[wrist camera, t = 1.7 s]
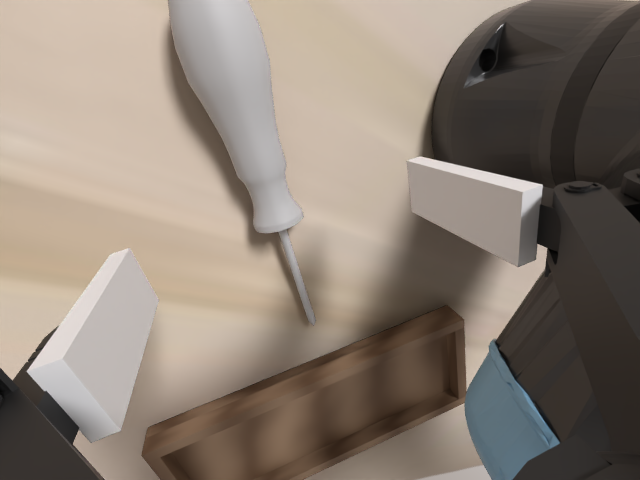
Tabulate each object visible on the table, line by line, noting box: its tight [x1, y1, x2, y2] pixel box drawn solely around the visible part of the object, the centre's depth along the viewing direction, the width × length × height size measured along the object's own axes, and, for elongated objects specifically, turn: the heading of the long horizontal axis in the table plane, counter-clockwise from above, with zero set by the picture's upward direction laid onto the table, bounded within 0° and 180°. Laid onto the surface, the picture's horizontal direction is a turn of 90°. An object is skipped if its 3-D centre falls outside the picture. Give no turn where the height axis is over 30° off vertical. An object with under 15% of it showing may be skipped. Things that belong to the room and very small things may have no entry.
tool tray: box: [142, 305, 466, 480], centre depth 31 cm, size 30×12×2 cm, turn 103°
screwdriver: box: [168, 0, 316, 326], centre depth 22 cm, size 5×25×4 cm, turn 14°
